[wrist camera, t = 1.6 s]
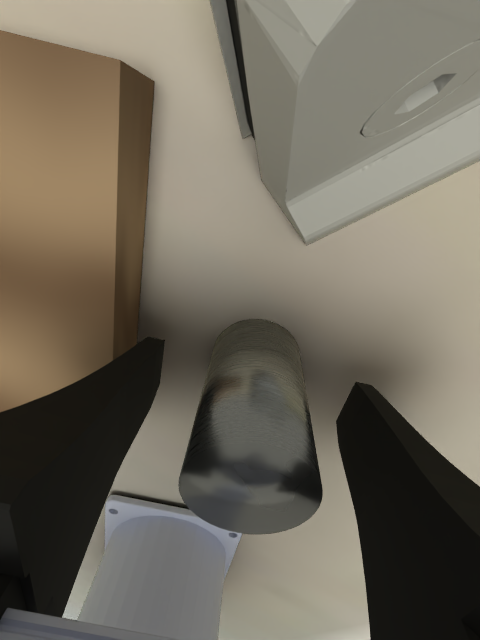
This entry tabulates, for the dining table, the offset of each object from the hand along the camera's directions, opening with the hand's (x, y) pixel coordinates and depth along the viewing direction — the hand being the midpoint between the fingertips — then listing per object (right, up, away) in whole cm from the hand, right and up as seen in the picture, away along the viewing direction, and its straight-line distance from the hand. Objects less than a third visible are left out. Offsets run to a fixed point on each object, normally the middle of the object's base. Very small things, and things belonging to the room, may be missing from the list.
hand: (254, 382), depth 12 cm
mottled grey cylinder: (0, +1, +1) cm, 2 cm away
